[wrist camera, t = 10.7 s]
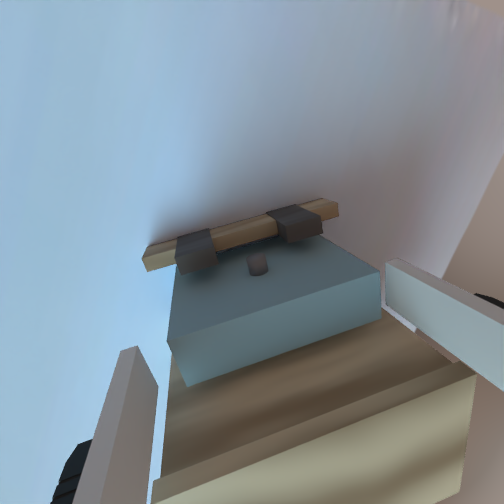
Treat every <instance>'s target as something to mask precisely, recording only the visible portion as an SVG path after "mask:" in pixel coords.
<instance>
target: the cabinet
mask: <svg viewBox="0 0 504 504" xmlns="http://www.w3.org/2000/svg"><path fill="white" fill-rule="evenodd" d="M266 213H267V214H264V215H260V216H256V217H253V218H249V219H246V220H242V221H239V222H235V223H231V224H228V225H224V226H221V227H217V228H213V229H210V230H209V229H205V230H201V231H198V232H194V233H191V234H187V235H183V236H180V237H178V238H177V239H174V240H170V241H167V242H163V243H160V244H156V245H152V246H149V247H147V248H146V250H145V253H144V255H143V257H142V261H143V263H144V265H145V268H146V270H147V272H149V271H152V270H156V269H159V268H163V267H166V266H169V265H173V264H177V266H178V269H179V272H180V275H185V274H188V273H191V272H195V271H198V270H201V269H205V268H208V267H211V266H215V265H218V264H219V262H218V258H217V255H216V252H218V251H221V250H224V249H228V248H231V247H235V246H238V245H242V244H245V243H249V242H252V241H255V240H259V239H262V238H266V237H269V236H273V235H276V234H278V235H279V236H280V237H282V238H283V239H284V240H285V241H286V242H287V243H288V244H289V243H292V242H296V241H299V240H302V239H306V238H309V237H312V236H316V235H319V234H322V233H323V230H322V222H321V221H324V220H328V219H331V218H335V217H338V216H339V213H338V203H336V202H333V201H329V200H326V199H323V198H321V199H317V200H314V201H310V202H307V203H303V204H299V205H291V206H288V207H284V208H281V209H277V210H273V211H270V212H266ZM381 315H382V318H381V319H378V320H376V321H373V322H370V323H367V324H364V325H361V326H359V327H356V328H353V329H350V330H347V331H344V332H342V333H339V334H336V335H333V336H330V337H327V338H325V339H322V340H319V341H316V342H313V343H310V344H308V345H305V346H302V347H299V348H296V349H293V350H291V351H288V352H285V353H282V354H279V355H276V356H274V357H271V358H268V359H265V360H262V361H259V362H257V363H254V364H251V365H248V366H245V367H242V368H240V369H237V370H234V371H231V372H228V373H226V374H223V375H220V376H217V377H214V378H211V379H209V380H206V381H203V382H200V383H197V384H194V385H192V386H189V387H187V386H186V383H185V381H184V379H183V377H182V374H181V372H180V370H179V368H178V365H177V363H176V361H175V359H174V356H173V354H172V357H171V368H170V379H169V389H168V400H167V411H166V422H165V433H164V443H163V454H162V465H161V476H160V478H159V479H157V480H154V481H153V487H152V496H151V504H434V503H436V502H438V501H440V500H443V499H445V498H447V497H449V496H451V495H454V494H456V493H458V492H459V491H460V484H461V478H462V471H463V464H464V458H465V451H466V444H467V437H468V431H469V424H470V418H471V411H472V404H473V397H474V391H475V384H476V378H477V373H475V372H474V371H472V370H471V369H470V368H468V367H467V366H466V365H465V364H463V363H462V362H461V361H458V362H456V363H452V362H451V361H450V360H448V359H447V358H446V357H444V356H443V355H442V354H440V353H439V352H438V351H437V350H435V349H434V348H433V347H432V346H430V345H429V344H428V343H427V342H425V341H424V340H423V339H421V338H420V337H419V336H418V335H416V334H415V333H414V332H412V331H411V330H410V329H409V328H407V327H406V326H405V325H403V324H402V323H401V322H400V321H398V320H397V319H396V318H395V317H393V316H392V315H391V314H389V313H388V312H387V311H386V310H384V309H383V308H382V307H381Z"/></svg>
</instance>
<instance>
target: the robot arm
mask: <svg viewBox="0 0 504 504" xmlns="http://www.w3.org/2000/svg"><path fill="white" fill-rule="evenodd" d="M385 288H386V305H387V306H389V307H390V308H392V309H393V310H394V311H396V312H397V313H398V314H400V315H401V316H402V317H404V318H405V319H406V320H408V321H409V322H410V323H412V324H413V325H415V326H416V327H417V328H419V329H420V330H421V331H423V332H424V333H425V334H427V335H428V336H430V337H431V338H432V339H434V340H435V341H436V342H437V343H439V344H440V345H442V346H443V347H444V348H446V349H447V350H448V351H450V352H451V353H452V354H454V355H455V356H456V357H458V358H459V359H461V360H462V361H463V362H465V363H466V364H467V365H469V366H470V367H471V368H473V369H474V370H475V371H477V372H478V373H479V374H481V375H482V376H484V377H485V378H486V379H487V380H489V381H490V382H492V383H493V384H494V385H496V386H497V387H498V388H500V389H501V390H503V391H504V303H503V302H501V301H499V300H497V299H495V298H492V297H488V296H485V295H481V294H477V293H476V294H471V293H469V292H467V291H465V290H463V289H461V288H459V287H457V286H454V285H452V284H450V283H448V282H446V281H444V280H442V279H440V278H438V277H436V276H434V275H432V274H430V273H428V272H426V271H423V270H421V269H419V268H417V267H415V266H413V265H411V264H409V263H407V262H405V261H403V260H401V259H399V258H396V259H393V260H390V261H387V262H385ZM157 396H158V385H157V383H156V381H155V379H154V377H153V375H152V373H151V371H150V369H149V367H148V365H147V363H146V361H145V359H144V357H143V355H142V353H141V351H140V349H139V347H138V345H137V346H134V347H131V348H128V349H125V350H122V351H120V354H119V358H118V361H117V364H116V367H115V370H114V373H113V377H112V380H111V383H110V386H109V389H108V392H107V395H106V399H105V402H104V405H103V408H102V411H101V414H100V418H99V421H98V424H97V427H96V430H95V433H94V436H93V439H91V440H88V441H85V442H83V443H80V444H78V445H77V447H76V448H75V450H74V451H73V453H72V454H71V456H70V457H69V459H68V460H67V462H66V463H65V466H64V469H63V471H62V474H61V476H60V479H59V485H57V487H56V490H55V492H54V495H53V501H52V502H51V503H50V504H146V500H147V491H148V481H149V472H150V462H151V453H152V443H153V434H154V424H155V415H156V406H157Z"/></svg>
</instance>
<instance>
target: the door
mask: <svg viewBox="0 0 504 504" xmlns="http://www.w3.org/2000/svg"><path fill="white" fill-rule="evenodd" d="M217 258H218V262H219V264H218V265H215V266H211V267H208V268H205V269H201V270H198V271H195V272H191V273H188V274H185V275H180V272H179V269H178V266H176V272H175V280H174V288H173V296H172V304H171V312H170V319H169V327H168V335H167V343H168V345H169V347H170V350H171V352H172V354H173V356H174V359H175V361H176V363H177V365H178V368H179V370H180V372H181V374H182V377H183V379H184V381H185V383H186V386H187V387H189V386H192V385H194V384H197V383H200V382H203V381H206V380H209V379H211V378H214V377H217V376H220V375H223V374H226V373H228V372H231V371H234V370H237V369H240V368H242V367H245V366H248V365H251V364H254V363H257V362H259V361H262V360H265V359H268V358H271V357H274V356H276V355H279V354H282V353H285V352H288V351H291V350H293V349H296V348H299V347H302V346H305V345H308V344H310V343H313V342H316V341H319V340H322V339H325V338H327V337H330V336H333V335H336V334H339V333H342V332H344V331H347V330H350V329H353V328H356V327H359V326H361V325H364V324H367V323H370V322H373V321H376V320H378V319H381V318H382V315H381V289H380V271H379V270H377V269H375V268H374V267H372V266H370V265H369V264H367V263H365V262H364V261H362V260H360V259H358V258H357V257H355V256H353V255H352V254H350V253H348V252H347V251H345V250H343V249H342V248H340V247H338V246H337V245H335V244H333V243H332V242H330V241H328V240H327V239H325V238H323V237H322V236H320V235H316V236H312V237H309V238H306V239H302V240H299V241H296V242H292V243H289V244H288V243H287V242H286V241H285V240H284V239H283V238H282V237H280V236H278V237H275V238H272V239H268V240H265V241H261V242H258V243H255V244H251V245H248V246H244V247H241V248H238V249H234V250H231V251H227V252H224V253H220V254H217Z"/></svg>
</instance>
